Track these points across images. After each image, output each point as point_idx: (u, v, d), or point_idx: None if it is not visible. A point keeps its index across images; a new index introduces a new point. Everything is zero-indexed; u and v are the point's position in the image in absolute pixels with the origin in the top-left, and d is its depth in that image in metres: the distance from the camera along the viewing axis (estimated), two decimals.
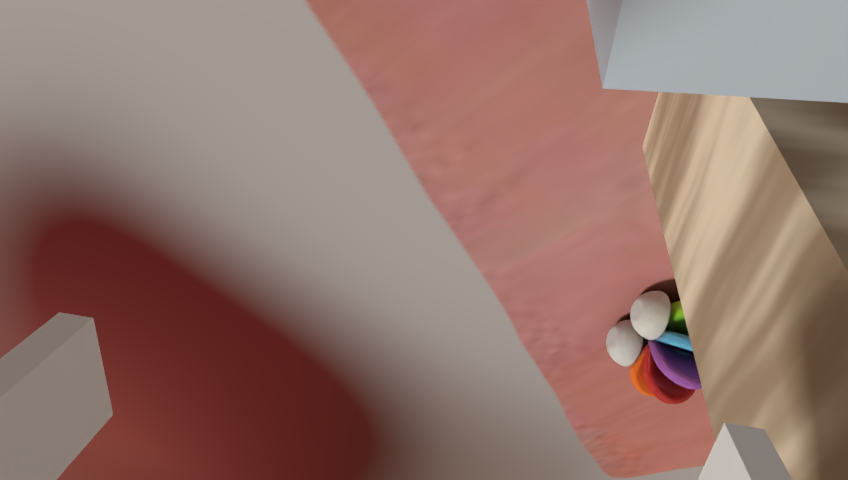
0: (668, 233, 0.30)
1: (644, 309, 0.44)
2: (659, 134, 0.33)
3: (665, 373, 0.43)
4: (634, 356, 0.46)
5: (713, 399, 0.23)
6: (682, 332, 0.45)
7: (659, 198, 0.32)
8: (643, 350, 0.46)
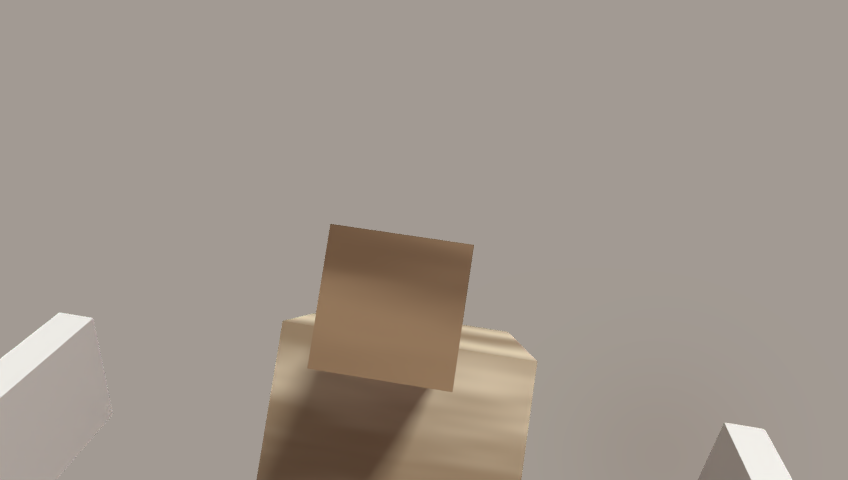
0: None
1: None
2: None
3: None
4: None
5: None
6: None
7: None
8: None
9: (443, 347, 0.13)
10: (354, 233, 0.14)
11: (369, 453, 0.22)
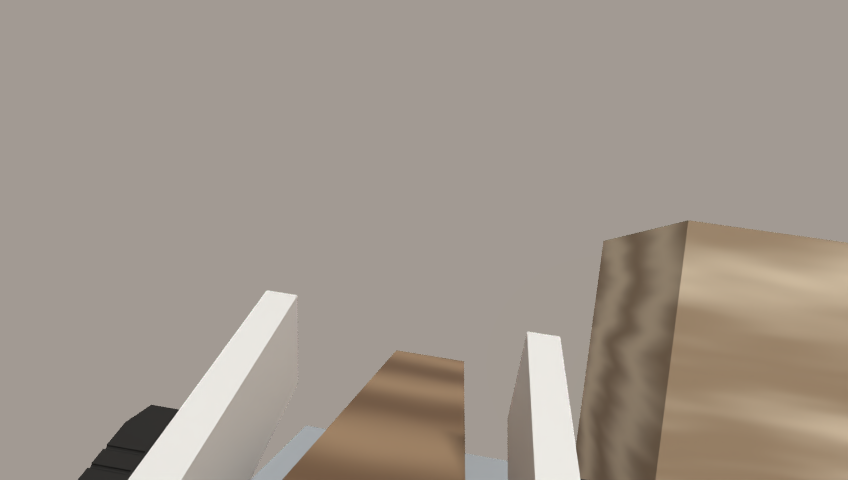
0: None
1: None
2: None
3: None
4: None
5: None
6: None
7: None
8: None
9: None
10: None
11: (794, 362, 0.20)
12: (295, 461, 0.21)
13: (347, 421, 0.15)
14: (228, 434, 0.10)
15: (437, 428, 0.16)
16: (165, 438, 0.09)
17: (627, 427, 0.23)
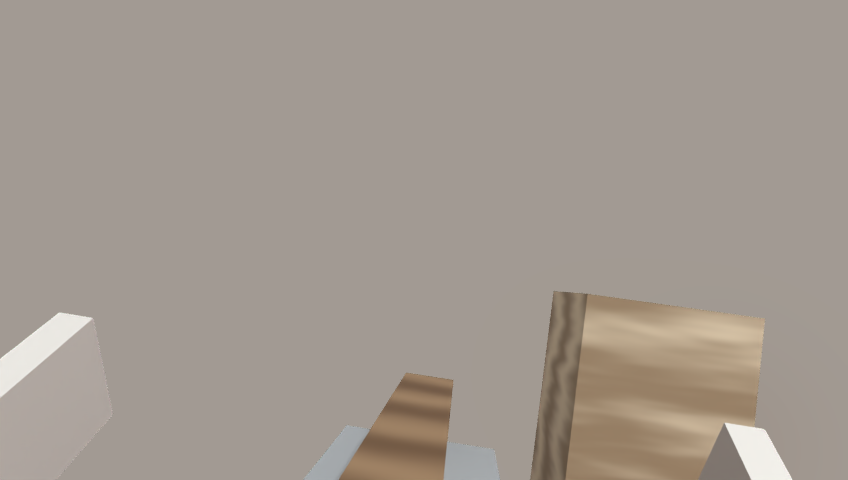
0: None
1: None
2: None
3: None
4: None
5: None
6: None
7: None
8: None
9: None
10: None
11: (651, 381, 0.32)
12: (345, 446, 0.33)
13: (384, 418, 0.28)
14: None
15: (433, 422, 0.28)
16: None
17: (558, 423, 0.36)
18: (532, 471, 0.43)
